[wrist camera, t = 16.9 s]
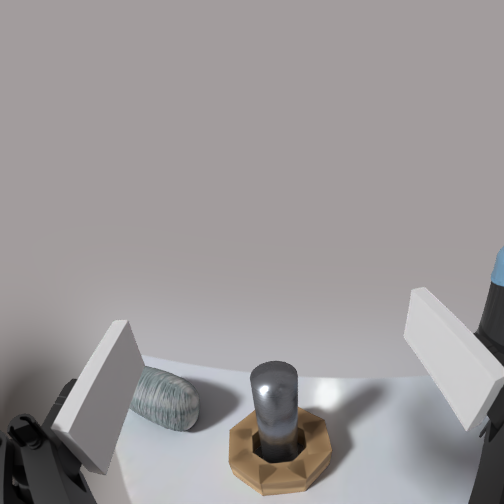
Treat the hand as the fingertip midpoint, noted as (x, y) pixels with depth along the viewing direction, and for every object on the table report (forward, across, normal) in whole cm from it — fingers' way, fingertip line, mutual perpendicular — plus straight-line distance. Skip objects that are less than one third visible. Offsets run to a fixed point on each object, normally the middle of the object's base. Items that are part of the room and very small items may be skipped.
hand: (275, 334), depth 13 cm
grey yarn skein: (+19, -17, -28) cm, 38 cm away
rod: (+10, 0, -28) cm, 30 cm away
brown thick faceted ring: (+10, 0, -28) cm, 30 cm away
